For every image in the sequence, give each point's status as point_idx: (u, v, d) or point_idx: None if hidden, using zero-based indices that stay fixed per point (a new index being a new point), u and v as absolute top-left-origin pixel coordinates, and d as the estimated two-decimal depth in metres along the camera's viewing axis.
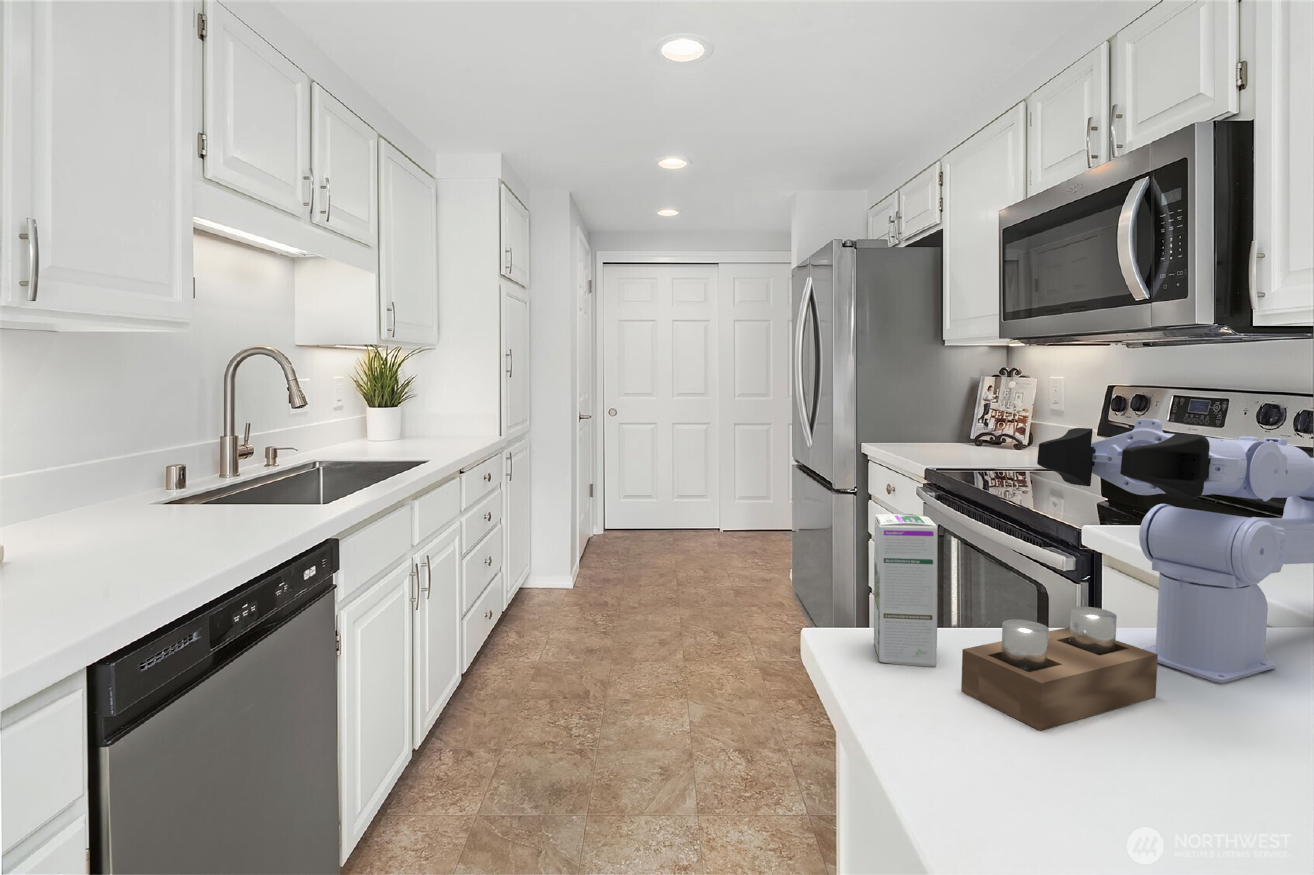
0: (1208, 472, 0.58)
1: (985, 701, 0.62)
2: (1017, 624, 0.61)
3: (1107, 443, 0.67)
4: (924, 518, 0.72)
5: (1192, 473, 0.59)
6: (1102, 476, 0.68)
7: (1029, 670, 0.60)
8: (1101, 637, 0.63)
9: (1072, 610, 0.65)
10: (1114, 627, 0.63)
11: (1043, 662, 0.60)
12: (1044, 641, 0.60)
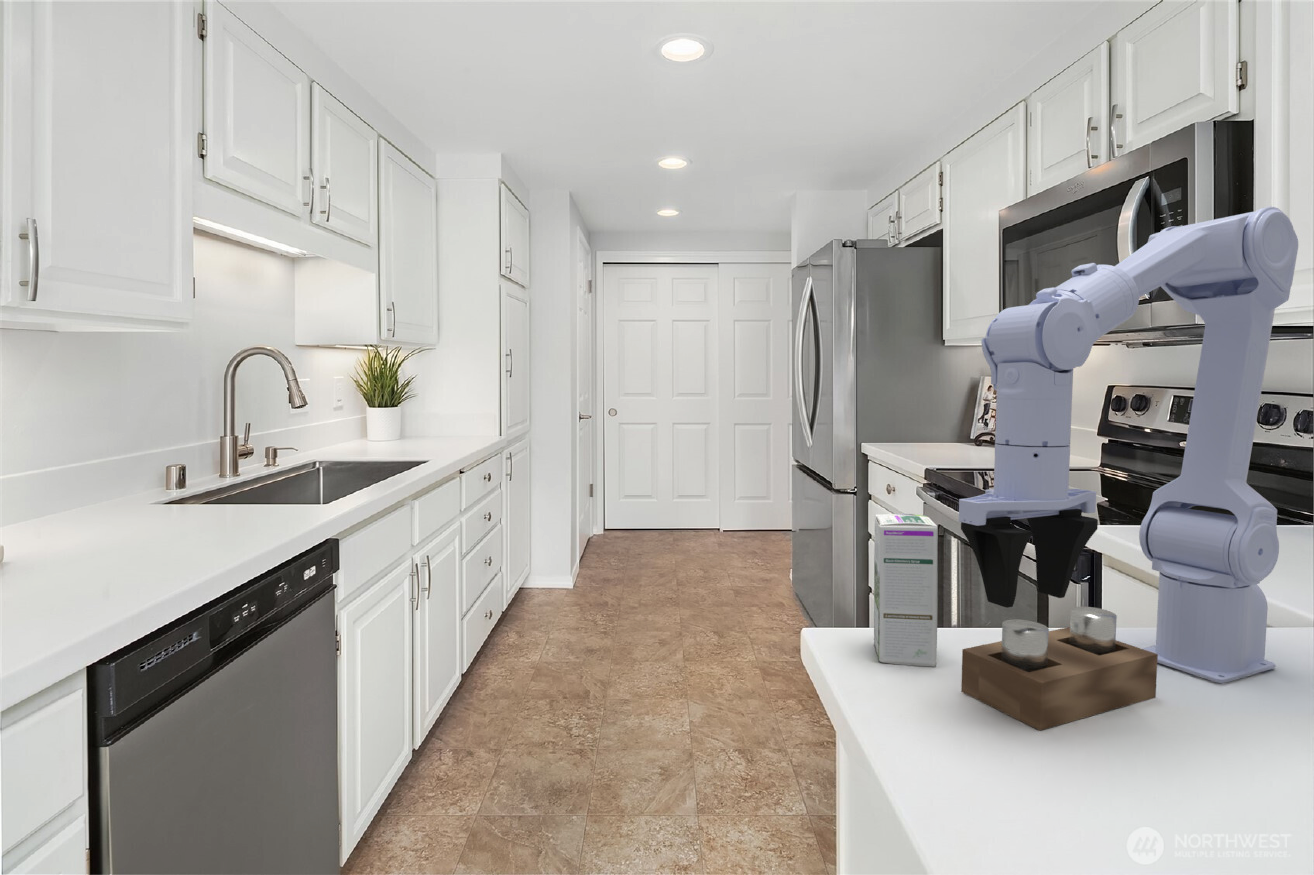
0: None
1: (985, 701, 0.62)
2: (1017, 624, 0.61)
3: None
4: (924, 518, 0.72)
5: None
6: (1076, 504, 0.60)
7: (1029, 670, 0.60)
8: (1101, 637, 0.63)
9: (1072, 610, 0.65)
10: (1114, 627, 0.63)
11: (1043, 662, 0.60)
12: (1044, 641, 0.60)
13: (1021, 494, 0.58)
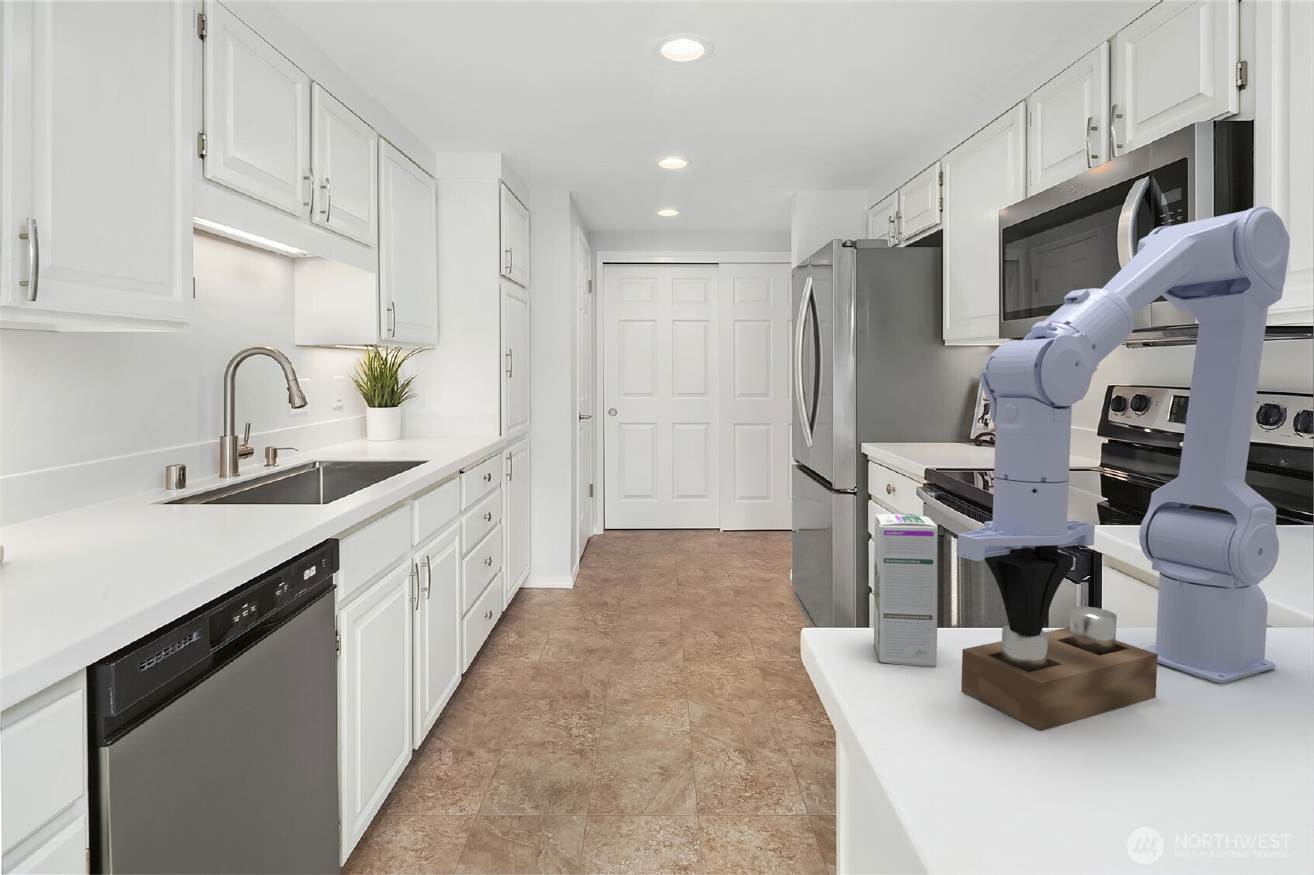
0: None
1: (985, 701, 0.62)
2: None
3: None
4: (924, 518, 0.72)
5: None
6: None
7: None
8: (1101, 637, 0.63)
9: (1072, 610, 0.65)
10: (1114, 627, 0.63)
11: (1042, 668, 0.60)
12: (1044, 647, 0.60)
13: (1020, 529, 0.58)
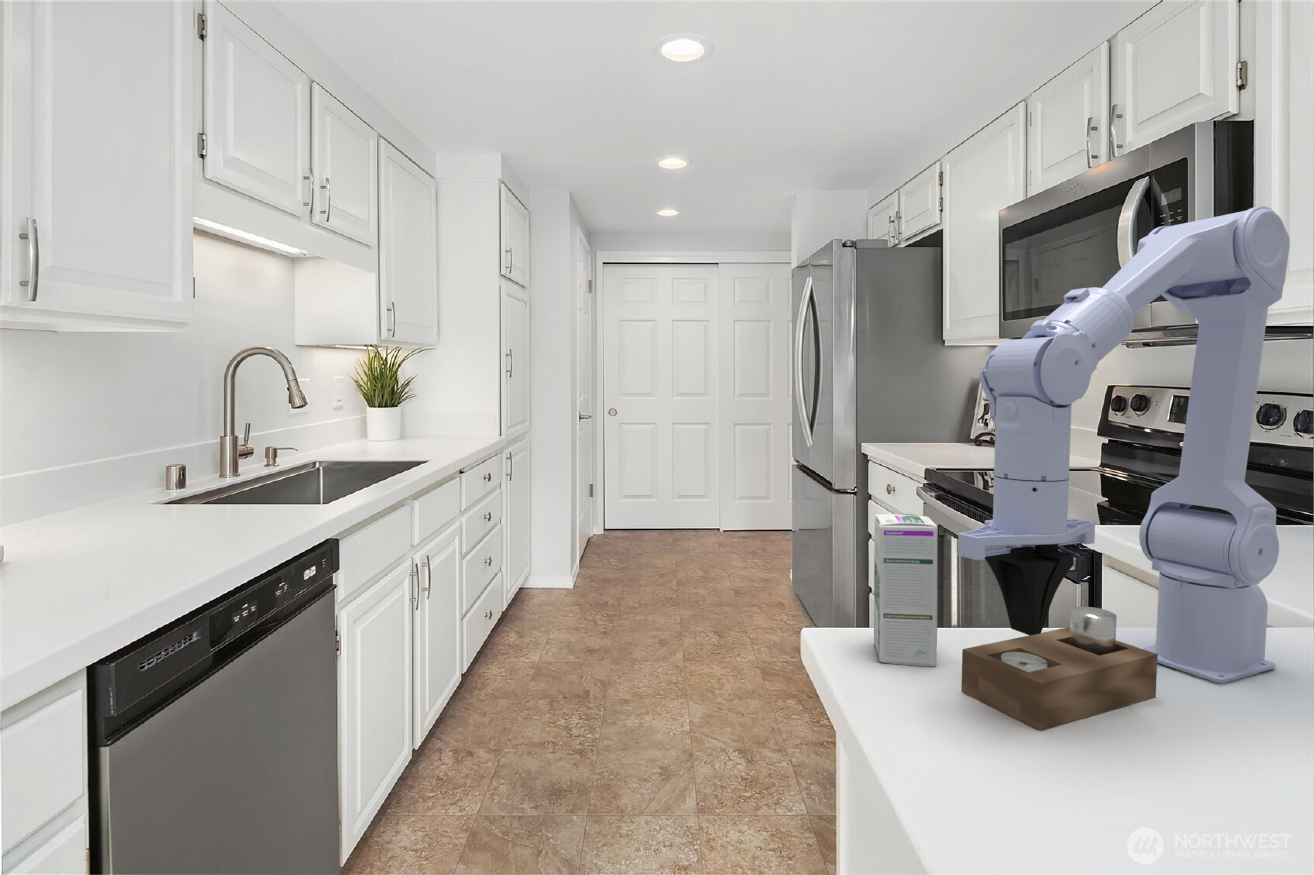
0: None
1: (985, 701, 0.62)
2: (1016, 657, 0.62)
3: None
4: (924, 518, 0.72)
5: None
6: None
7: None
8: (1101, 637, 0.63)
9: (1072, 610, 0.65)
10: (1114, 627, 0.63)
11: None
12: None
13: (1020, 528, 0.58)
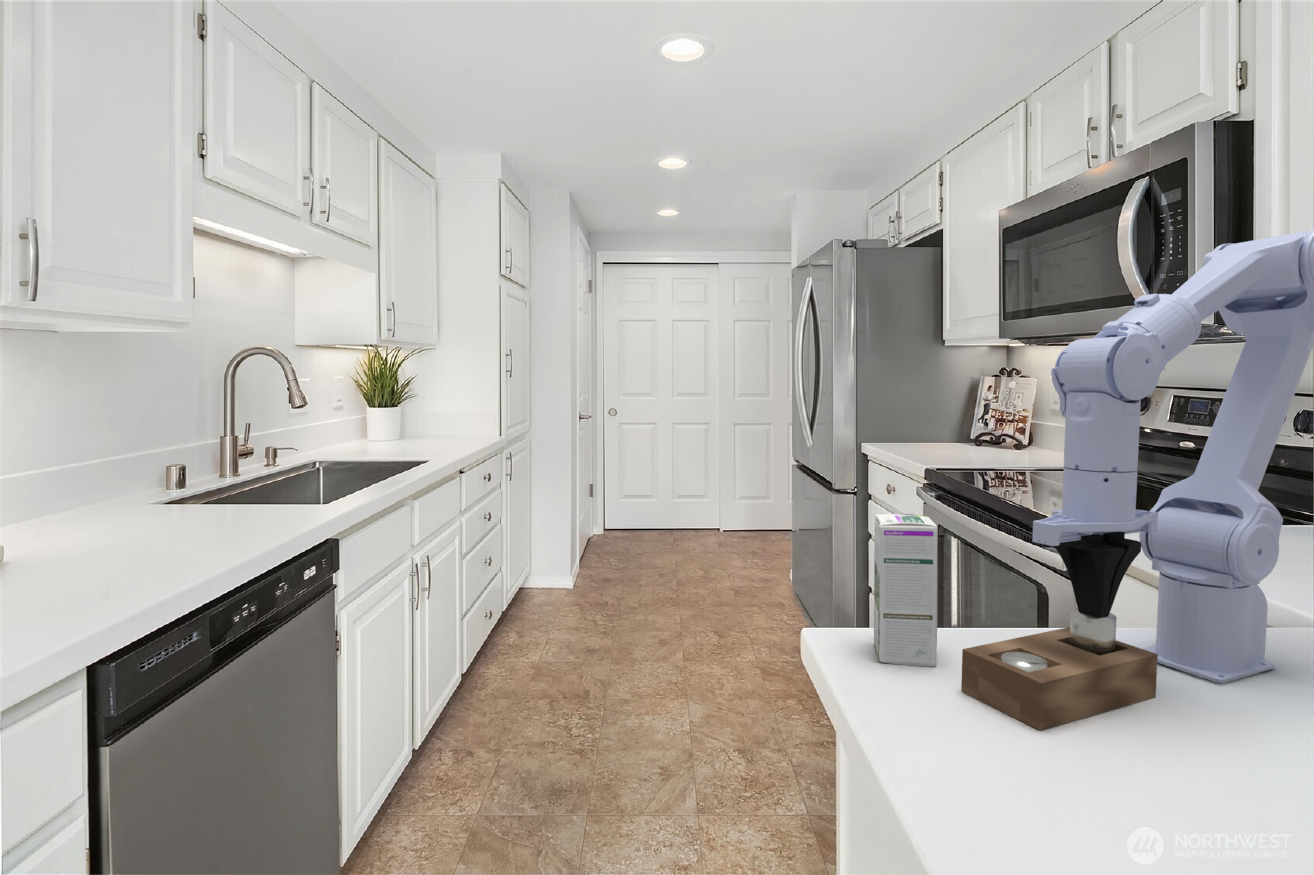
0: None
1: (985, 701, 0.62)
2: (1016, 657, 0.62)
3: None
4: (924, 518, 0.72)
5: None
6: (1141, 525, 0.64)
7: None
8: (1101, 638, 0.63)
9: (1072, 611, 0.65)
10: (1114, 628, 0.63)
11: None
12: None
13: (1092, 516, 0.62)
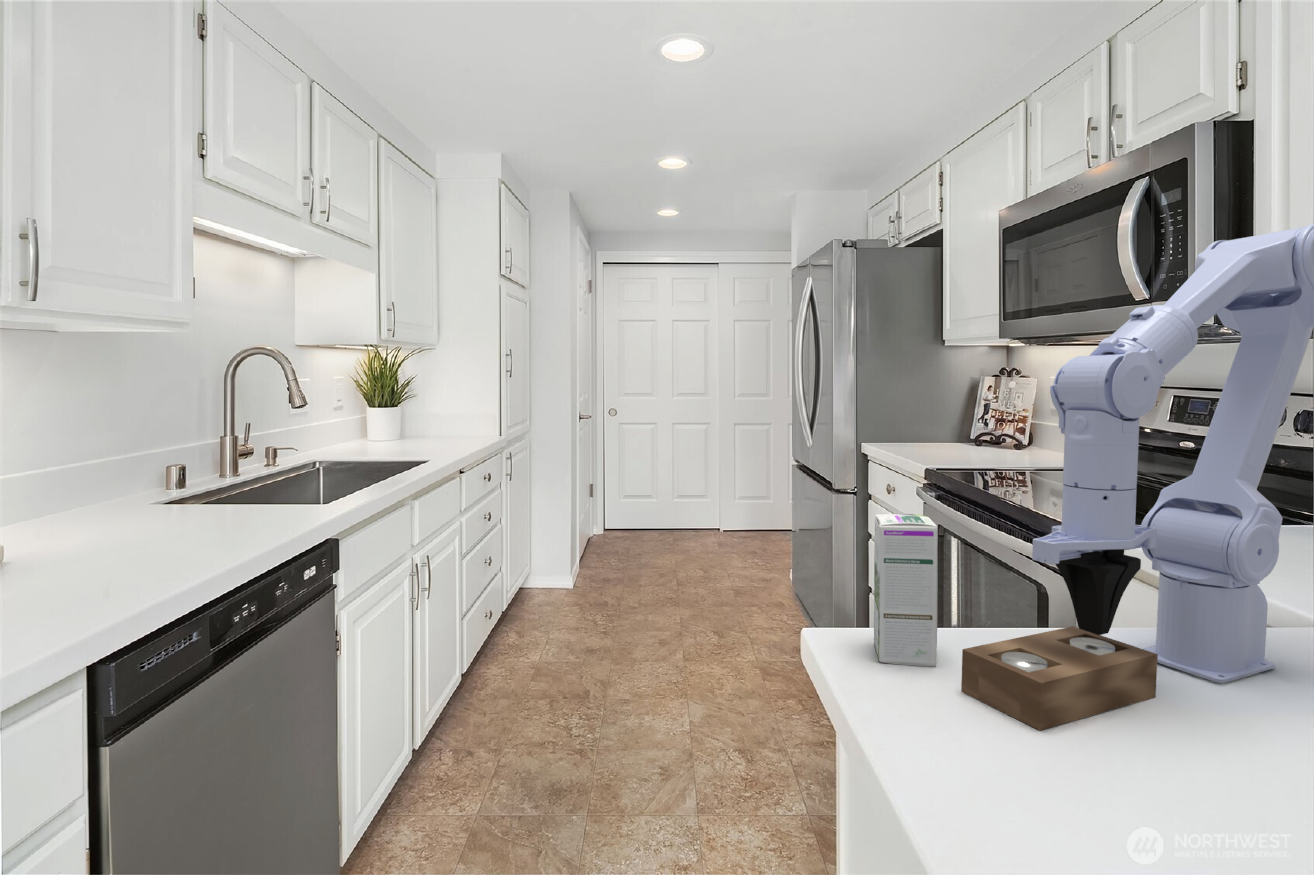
0: None
1: (985, 701, 0.62)
2: (1016, 657, 0.62)
3: None
4: (924, 518, 0.72)
5: None
6: None
7: None
8: None
9: (1071, 641, 0.66)
10: None
11: None
12: None
13: (1091, 534, 0.62)
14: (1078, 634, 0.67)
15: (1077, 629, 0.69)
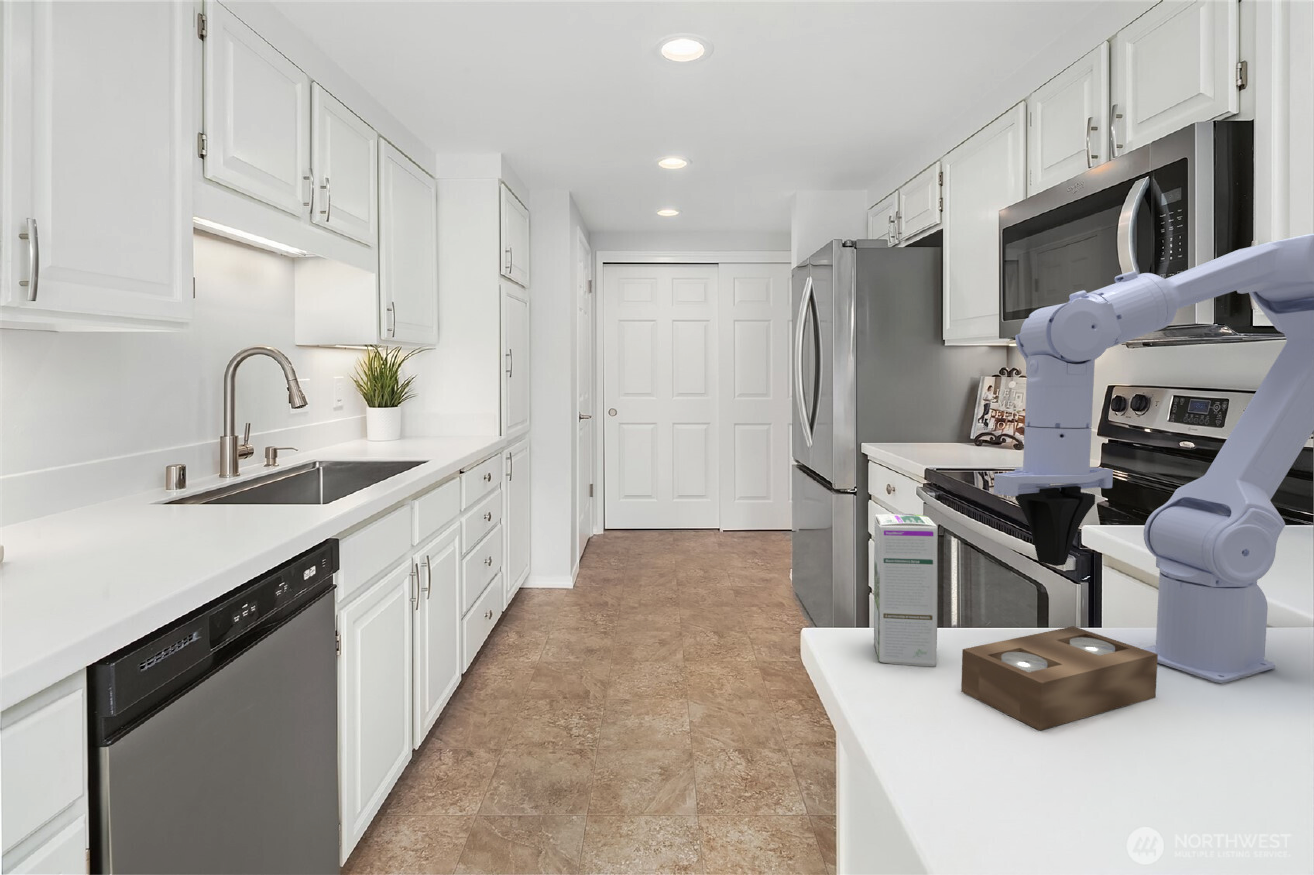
0: None
1: (985, 701, 0.62)
2: (1016, 657, 0.62)
3: None
4: (924, 518, 0.72)
5: None
6: None
7: None
8: None
9: (1071, 641, 0.66)
10: None
11: None
12: None
13: (1049, 470, 0.67)
14: (1078, 634, 0.67)
15: (1077, 629, 0.69)
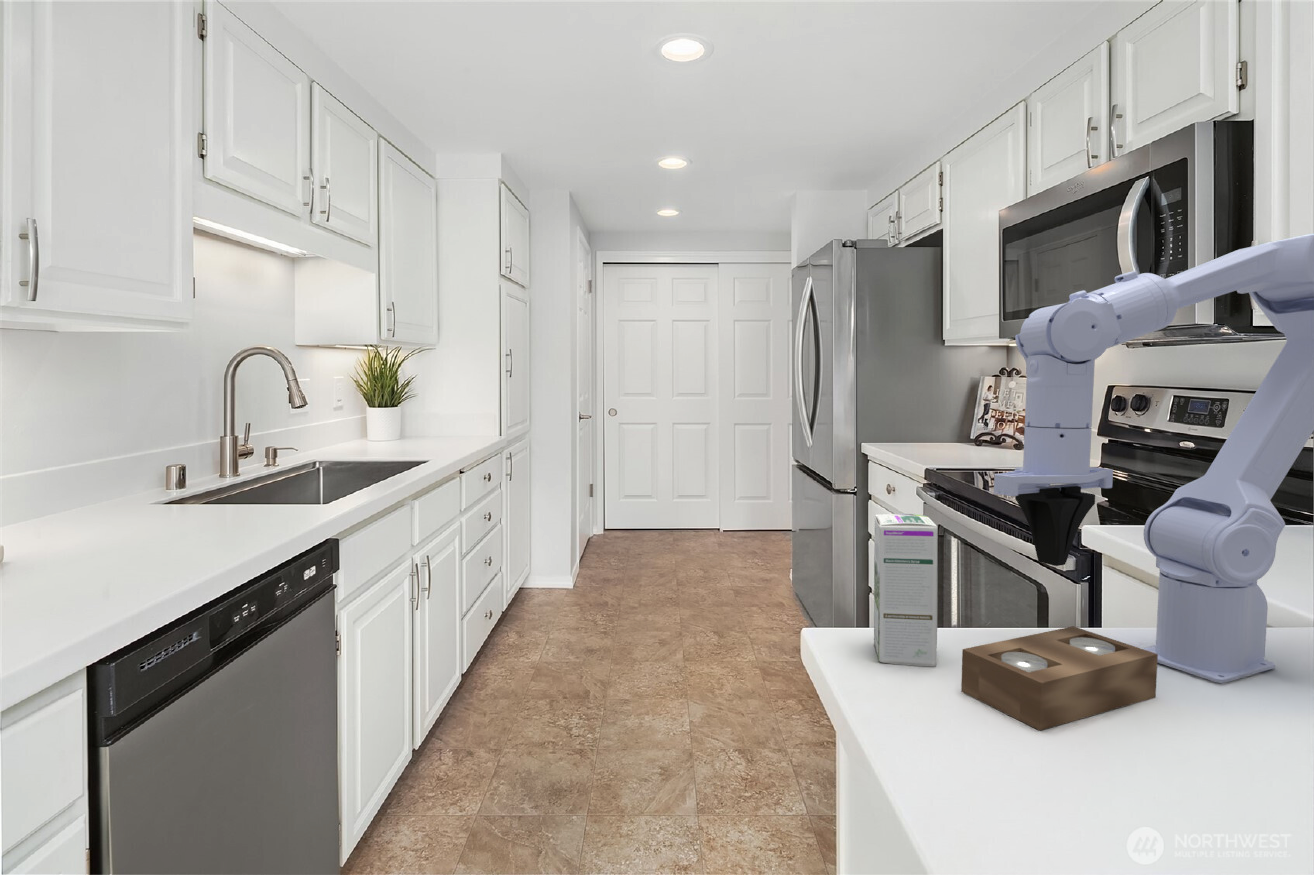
0: None
1: (985, 701, 0.62)
2: (1016, 657, 0.62)
3: None
4: (924, 518, 0.72)
5: None
6: None
7: None
8: None
9: (1071, 641, 0.66)
10: None
11: None
12: None
13: (1049, 470, 0.67)
14: (1078, 634, 0.67)
15: (1077, 629, 0.69)
